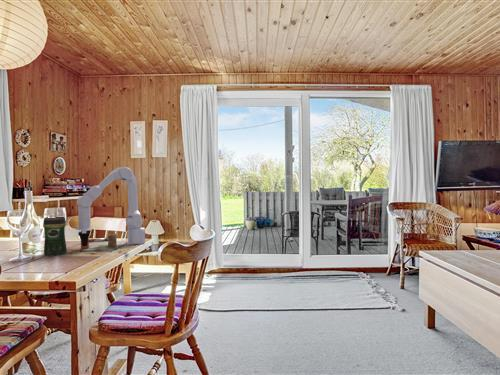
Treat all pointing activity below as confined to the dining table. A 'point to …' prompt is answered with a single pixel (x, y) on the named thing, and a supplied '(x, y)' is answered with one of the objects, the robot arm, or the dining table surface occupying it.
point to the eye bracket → (111, 245)
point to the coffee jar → (54, 236)
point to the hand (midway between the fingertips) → (84, 245)
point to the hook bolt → (94, 241)
